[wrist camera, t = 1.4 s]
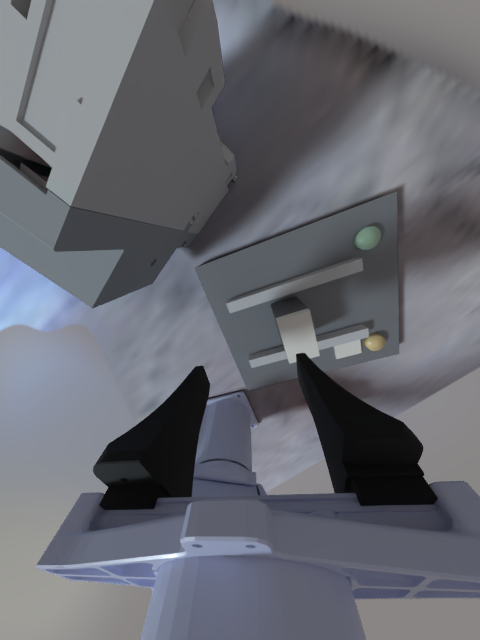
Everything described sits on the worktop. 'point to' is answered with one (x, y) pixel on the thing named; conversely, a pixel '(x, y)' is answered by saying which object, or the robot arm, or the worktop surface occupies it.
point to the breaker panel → (312, 292)
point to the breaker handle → (295, 328)
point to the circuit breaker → (108, 137)
